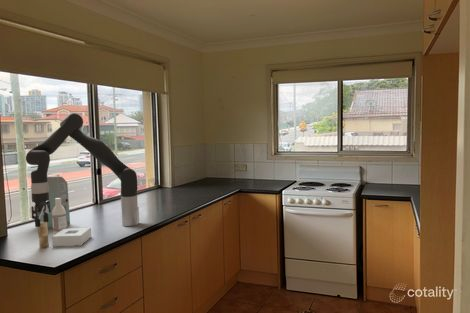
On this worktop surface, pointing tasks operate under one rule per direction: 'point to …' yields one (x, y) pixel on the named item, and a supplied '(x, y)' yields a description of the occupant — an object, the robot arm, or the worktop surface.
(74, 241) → the socket block
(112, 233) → the worktop surface
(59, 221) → the bath foam
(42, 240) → the peg
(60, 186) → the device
